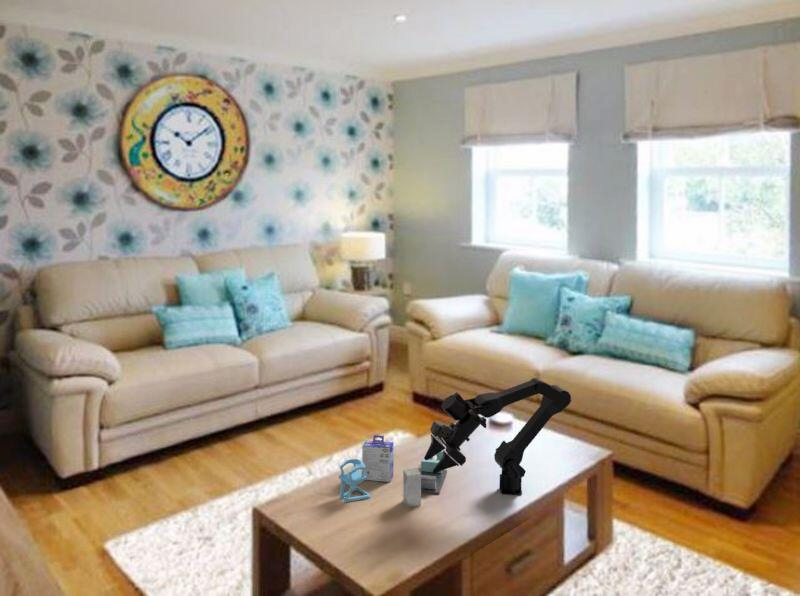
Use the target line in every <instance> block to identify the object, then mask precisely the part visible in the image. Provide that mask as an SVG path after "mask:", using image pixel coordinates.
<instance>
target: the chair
mask: <svg viewBox="0 0 800 596" xmlns="http://www.w3.org/2000/svg"><path fill="white" fill-rule="evenodd" d="M348 464H351V465H353V467H352V469H350V470H349V471H348V472H345V471H344V469H343V468H344V467H345V466H346V465H348ZM338 467H339V469H340V472H341V473H340V474H339V475H338V478H339V479H340V493H339V500H344V501H343V502H344V503H345V502H346V503H349V502H348V501H350V502H354V501H353V500H356V501H362V500H367V499H370V498H371V494H370V493H368V492H367V491H365V490H363V489H362V488H361V487H359V486H358V484H360V483H361V482H363V481H368V480H367V477H366V476H365V475H364V471H365V467H366V466H365V465H364V463H363V462H362V460H361V459H358V458H351V459H347V460H345V461H344V462H342V464H340V465H339V466H338ZM359 470H362V471H359ZM346 484H347V485H348V486H349V488H348V491H345V489H346ZM356 489H357V490H356ZM353 491H354V492H355V491H358V492H360V493H361V492H362V494H363V495H358V496H353V497H350V496H351V495H352V492H353ZM354 492H353V493H354ZM364 494H365V495H364ZM344 497H345V498H344ZM342 498H344V499H342ZM366 498H367V499H366ZM361 499H362V500H361Z"/></svg>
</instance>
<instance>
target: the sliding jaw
mask: <svg viewBox="0 0 800 596" xmlns="http://www.w3.org/2000/svg"><path fill="white" fill-rule="evenodd" d="M442 457H443V450H442V451H441V452H439V453H438V454H436V455H435V456H433V457H432V458H430V459H428V460H425V459H424V458H422V459H421V461H420V468H421V471H425V472H433V469H434V468H435V466H436V465H437V464H438V462H439V461H440V460H441V459H442ZM437 473H442V471H440V472H437Z"/></svg>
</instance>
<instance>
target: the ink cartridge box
mask: <svg viewBox="0 0 800 596" xmlns="http://www.w3.org/2000/svg"><path fill="white" fill-rule="evenodd" d="M377 438H380V439H377ZM361 451H362V452H361V455H362V457H361V458H362V460H361V461H362V462H363V463H364V465H365V466H366V467H365V471H364V475H365V476H366V477H367V480H366V481H373V482H384V483H385V482H386V483H388V482H389V483H390V482H391V481H392V479H393V478H394V477H395V474H394V473H395V470H394V468H395V467H394V465H395V464H394V460H395V459H394V453H395V452H394V442H393V441H385V436H384V435H379V434H378V435H376V434H374V435H373V437H372V440H365V442H364V443H363V444H362V446H361Z"/></svg>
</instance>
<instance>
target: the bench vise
mask: <svg viewBox="0 0 800 596" xmlns="http://www.w3.org/2000/svg"><path fill="white" fill-rule="evenodd" d="M417 469H418V470H419V472H420V473H421V494H431V495H440V494H441V490H442V489H443V486H444V483H445V479H446V476H447V474H448V470H447V469H445V470H442V473H434V472H425V471H421V467H417Z"/></svg>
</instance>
